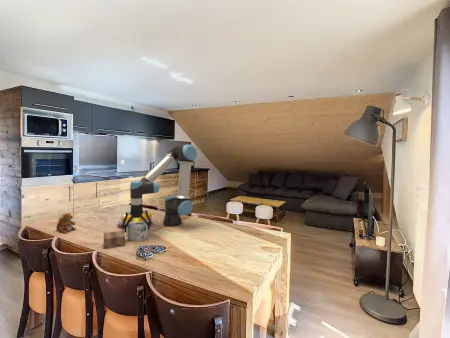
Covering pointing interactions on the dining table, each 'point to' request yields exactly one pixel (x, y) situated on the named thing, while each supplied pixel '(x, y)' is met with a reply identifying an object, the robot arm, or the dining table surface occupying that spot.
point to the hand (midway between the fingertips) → (137, 235)
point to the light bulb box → (136, 231)
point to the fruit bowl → (135, 218)
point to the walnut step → (114, 239)
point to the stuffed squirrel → (65, 223)
